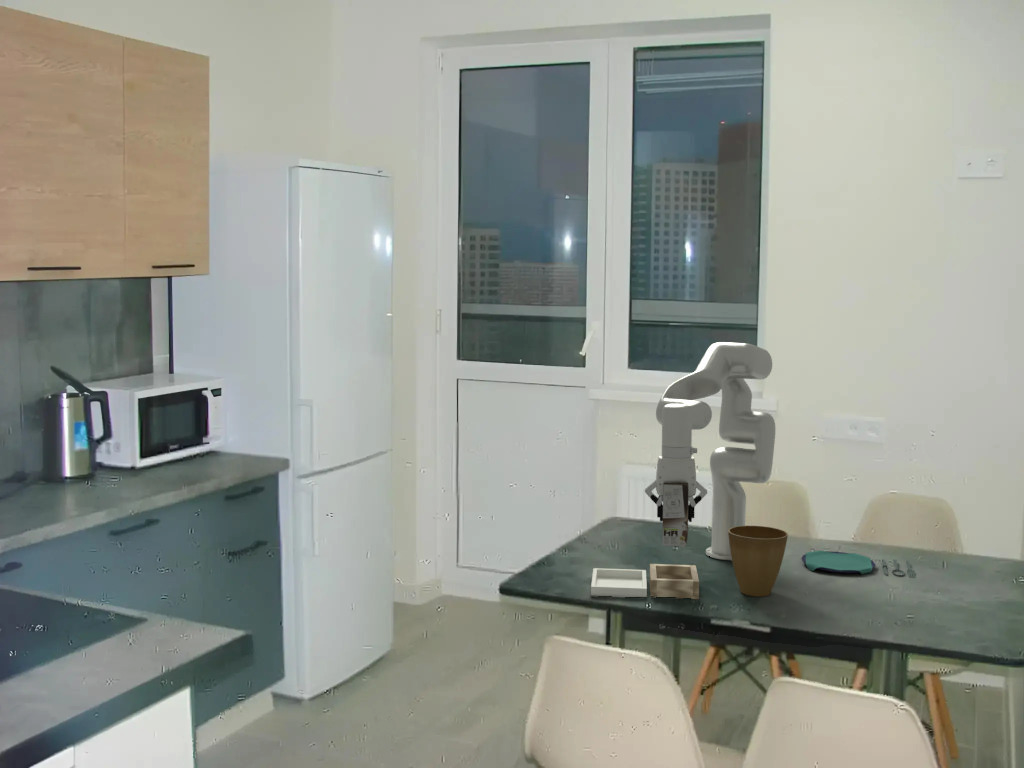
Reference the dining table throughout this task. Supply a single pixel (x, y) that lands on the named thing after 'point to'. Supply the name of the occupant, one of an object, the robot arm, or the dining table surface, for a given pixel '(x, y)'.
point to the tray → (619, 583)
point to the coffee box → (675, 514)
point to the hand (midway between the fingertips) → (675, 520)
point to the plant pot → (756, 557)
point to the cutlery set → (846, 563)
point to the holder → (674, 581)
